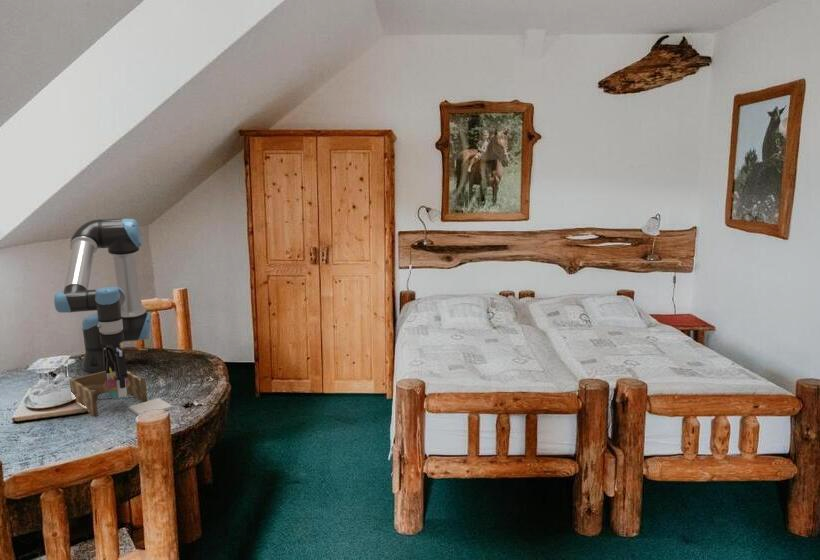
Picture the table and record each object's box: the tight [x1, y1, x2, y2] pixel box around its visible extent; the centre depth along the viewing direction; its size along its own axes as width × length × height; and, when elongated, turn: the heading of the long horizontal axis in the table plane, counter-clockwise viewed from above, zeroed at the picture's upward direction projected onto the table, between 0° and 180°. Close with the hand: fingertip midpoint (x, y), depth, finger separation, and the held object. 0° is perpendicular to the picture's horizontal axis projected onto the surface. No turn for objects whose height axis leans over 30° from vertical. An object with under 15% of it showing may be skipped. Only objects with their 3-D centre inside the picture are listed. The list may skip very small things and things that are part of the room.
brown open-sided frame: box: [69, 370, 148, 418], centre depth 223 cm, size 22×18×9 cm
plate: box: [128, 397, 174, 416], centre depth 216 cm, size 11×11×1 cm
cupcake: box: [104, 366, 130, 400], centre depth 216 cm, size 9×8×12 cm
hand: (117, 392), depth 217 cm, fingers closed on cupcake, 8 cm apart
